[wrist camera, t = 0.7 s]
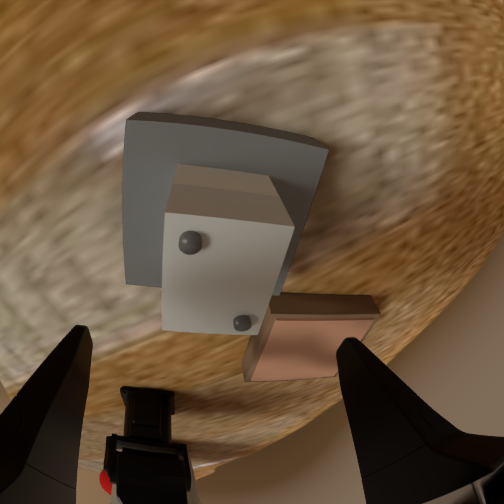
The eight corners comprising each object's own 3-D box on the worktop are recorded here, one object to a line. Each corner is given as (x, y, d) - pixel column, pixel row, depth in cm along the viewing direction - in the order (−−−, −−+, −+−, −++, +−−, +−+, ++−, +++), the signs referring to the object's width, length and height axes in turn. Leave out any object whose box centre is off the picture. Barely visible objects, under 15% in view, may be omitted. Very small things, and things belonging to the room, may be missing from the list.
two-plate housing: (244, 269, 18) (258, 339, 13) (169, 263, 17) (161, 335, 12) (268, 175, 14) (297, 231, 10) (177, 163, 13) (163, 216, 9)
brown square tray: (329, 359, 30) (335, 377, 28) (241, 362, 28) (244, 383, 26) (370, 295, 25) (381, 315, 23) (265, 291, 22) (271, 315, 20)
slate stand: (272, 271, 21) (279, 295, 19) (132, 259, 19) (125, 284, 17) (312, 137, 16) (328, 149, 14) (137, 112, 13) (126, 120, 11)
